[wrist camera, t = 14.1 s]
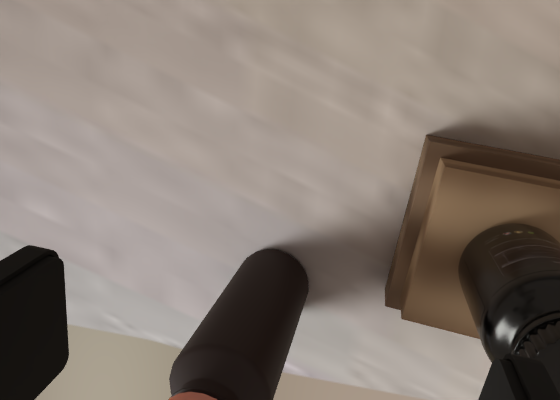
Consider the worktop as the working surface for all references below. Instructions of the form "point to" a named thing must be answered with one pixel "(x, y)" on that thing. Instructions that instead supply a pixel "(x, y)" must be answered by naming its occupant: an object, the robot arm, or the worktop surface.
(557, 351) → the supplement bottle
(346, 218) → the worktop surface
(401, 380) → the worktop surface
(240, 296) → the vinegar
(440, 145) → the stepped wooden plinth
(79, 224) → the worktop surface
